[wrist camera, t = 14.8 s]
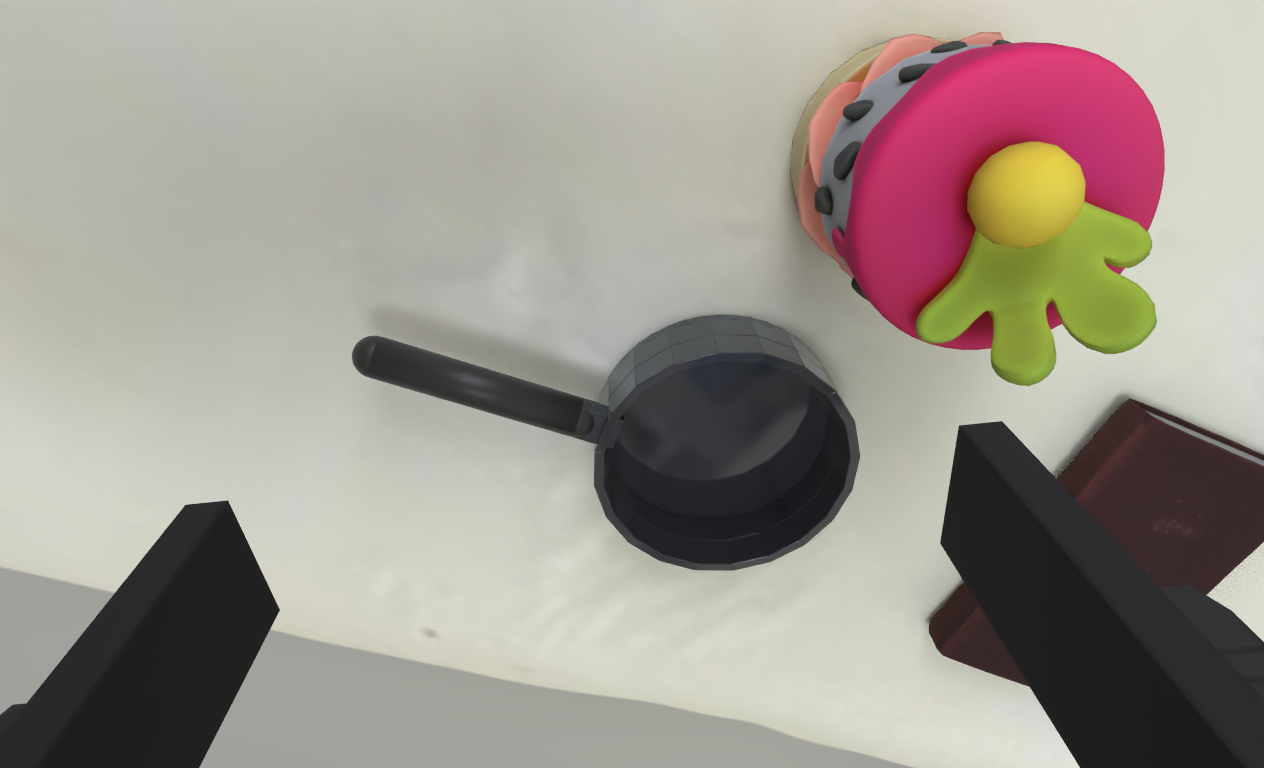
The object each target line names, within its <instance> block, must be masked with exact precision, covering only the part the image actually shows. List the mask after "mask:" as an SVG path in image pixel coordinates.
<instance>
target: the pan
mask: <svg viewBox="0 0 1264 768" xmlns="http://www.w3.org/2000/svg"><path fill="white" fill-rule="evenodd" d="M599 403H601V404H604V405H607V406H608V416H607V418H606V421H605V423H604V426H603V428H602V431H601V433H600V435H599V438H598V440H597V443H596V444H595V458H594V487H595V489H596V492H597V495H598V497H599V500H600V503H601V505H602V508H603V510H604V513H605V516H606V517H607V519H608V520H609V521H610V522H611V523H612V524H613V525H614V527H615V528H616V529H617V530H618V531H619V532H620V533H621V535H622V536H623V537H624V538H625V539H626V540H627V541H628V542H629V543H630V544H632V545H633V546H635V547H637V548H639V549H640V550H642V551H644V552H645V553H647V554H649V555H650V556H652V557H654V558H655V559H657V560H660V561H662V562H666V563H670V564H674V565H677V566H681V567H685V568H689V569H692V570H730V571H732V570H737V569H742V568H746V567H751V566H755V565H759V564H764V563H768V562H771V561H773V560H775V559H777V558H779V557H781V556H783V555H785V554H788V553H790V552H792V551H794V550H796V549H798V548H800V547H802V546H804V544H806V543H808V542H809V541H810V540H811V539H812V538H813V537H814V536H816V535H817V534H818V533H819V532H820V531H821V530H822V529H824V528H825V527H826V526H827V525H828V524H829V523H831V522H832V520H833V519H834V518H835V516H836V515H837V513H838V512H839V510H840V508H841V507H842V505H843V504H844V502H845V501H846V499H847V497H848V496H849V494H850V493H851V491H852V489H853V484H854V480H855V476H856V472H857V467H858V463H859V459H860V452H859V445H858V438H857V432H856V425H855V421H854V419H853V417H852V415H851V414H850V412H849V410H848V409H847V407H846V405H845V403H844V402H843V400H842V398H841V397H840V395H839V393H838V391H837V390H836V388H835V386H834V385H833V383H832V381H831V380H830V378H829V376H828V375H827V373H826V371H825V370H824V368H823V366H822V365H821V363H820V361H819V360H818V358H817V356H815V354H813V353H812V352H811V351H810V349H809V348H808V347H807V346H806V345H805V344H803V343H802V342H801V341H800V340H798V339H797V338H796V337H795V336H793V335H792V334H790V333H788V332H786V331H785V330H783V329H781V328H779V327H777V326H774V325H772V324H770V323H767V322H764V321H761V320H757V319H753V318H748V317H741V316H733V315H715V316H706V317H699V318H694V319H690V320H685V321H682V322H679V323H677V324H674V325H671V326H668V327H666V328H664V329H662V330H660V331H658V332H656V333H654V334H653V335H651V336H650V337H648V338H647V339H645V340H644V341H642V342H641V343H639V344H638V345H637V346H636V347H635V348H633V349H632V350H631V351H630V352H629V353H628V354H627V355H626V356H625V357H624V358H623V359H622V360H621V361H620V363H619V364H618V365H617V366H616V368H615V369H614V371H613V372H612V374H611V375H610V377H609V378H608V380H607V382H606V384H605V387H604V389H603V391H602V394H601V397H600V400H599ZM623 414H624V420H625V421H624V423H623V426H622V428H621V430H620V433H619V435H618V437H617V440H616V442H615V445H614V447H613V448H608V447H607V446H608V443H609V441H610V438H611V436H612V434H613V431H614V429H615V426H616V424H617V422H618V420H619V419H620V418H621V417H622V416H623Z"/></svg>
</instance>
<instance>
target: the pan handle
mask: <svg viewBox="0 0 1264 768" xmlns="http://www.w3.org/2000/svg"><path fill="white" fill-rule="evenodd" d="M352 360H353V364H354V366H355V368H356V369H357V370H358V371H359V372H360V373H361V374H362V375H364V376H366V377H369V378H373V379H376V380H379V381H383V382H386V383H390V384H393V385H396V386H400V387H403V388H407V389H410V390H414V391H417V392H420V393H424V394H427V395H431V396H434V397H437V398H441V399H444V400H448V401H451V402H455V403H458V404H461V405H465V406H468V407H472V408H475V409H478V410H482V411H485V412H489V413H492V414H495V415H499V416H502V417H506V418H509V419H513V420H516V421H519V422H523V423H526V424H530V425H533V426H536V427H540V428H543V429H547V430H550V431H554V432H557V433H560V434H564V435H567V436H571V437H574V438H577V439H581V440H584V441H588V442H591V443H594V444H596V443H597V440H598V438H599V435H600V433H601V431H602V428H603V426H604V423H605V421H606V418H607V416H608V406H607V405H604V404H601V403H597V402H594V401H591V400H588V399H584V398H581V397H578V396H574V395H571V394H568V393H564V392H561V391H558V390H555V389H551V388H548V387H545V386H541V385H538V384H535V383H532V382H528V381H525V380H522V379H519V378H515V377H512V376H509V375H505V374H502V373H499V372H496V371H492V370H489V369H486V368H482V367H479V366H476V365H473V364H469V363H466V362H463V361H459V360H456V359H453V358H450V357H446V356H443V355H440V354H436V353H433V352H430V351H427V350H423V349H420V348H417V347H413V346H410V345H407V344H404V343H400V342H397V341H394V340H390V339H387V338H384V337H380V336H368V337H366V338H363V339H362V340H360V341H359V342H358V343H357V344H356V346H355V347H354V349H353V352H352ZM624 421H625V420H624V414H623V416H622V417H621V418H620V419H619V420H618V422H617V424H616V426H615V429H614V431H613V434H612V436H611V438H610V441H609V443H608V446H607V447H608V448H613V447H614V445H615V442H616V440H617V437H618V435H619V433H620V430H621V428H622V426H623V423H624Z"/></svg>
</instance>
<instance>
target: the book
mask: <svg viewBox="0 0 1264 768" xmlns="http://www.w3.org/2000/svg"><path fill="white" fill-rule="evenodd" d="M1057 480H1058V481H1059V482H1060V483H1061V484H1062V485H1063V487H1064V488H1065V489H1066V490H1067V491H1068V492H1069V493H1070V494H1071V495H1072V496H1073V497H1074V498H1075V499H1076V500H1077V501H1078V502H1079V503H1080V505H1081V506H1082V507H1083V508H1084V509H1085V510H1086V511H1087V512H1088V513H1089V514H1090V515H1091V516H1092V517H1093V518H1094V519H1095V520H1096V522H1097V523H1098V524H1099V525H1100V526H1101V527H1102V528H1103V529H1104V530H1105V531H1106V532H1107V533H1108V534H1109V535H1110V536H1111V537H1112V538H1113V540H1114V541H1115V542H1116V543H1117V544H1118V545H1119V546H1120V547H1121V548H1122V549H1123V550H1124V551H1125V552H1126V553H1127V554H1128V555H1129V556H1130V558H1131V559H1132V560H1133V561H1134V562H1135V563H1136V564H1137V565H1138V566H1139V567H1140V568H1141V569H1142V570H1143V571H1144V572H1145V573H1146V574H1147V576H1148V577H1149V578H1150V579H1151V580H1152V581H1153V582H1154V583H1155V584H1156V585H1157V586H1158V587H1169V586H1179V585H1190V586H1192V587H1193V588H1195V589H1197V590H1198V591H1200V592H1202V593H1203V594H1205V595H1207V594H1208V593H1209V592H1210V591H1211V590H1212V589H1213V588H1214V587H1215V586H1216V585H1217V584H1219V583H1220V582H1221V581H1222V580H1223V579H1224V578H1225V577H1226V576H1227V575H1228V574H1229V573H1230V572H1231V571H1232V570H1233V569H1234V568H1235V567H1237V566H1238V565H1239V564H1240V563H1241V562H1242V561H1243V560H1244V559H1245V558H1247V557H1248V556H1249V555H1250V554H1251V553H1252V552H1253V551H1254V550H1255V549H1257V548H1258V547H1259V546H1260V545H1261V544H1262V543H1263V542H1264V455H1262V454H1260V453H1257V452H1255V451H1252V450H1250V449H1248V448H1246V447H1244V446H1242V445H1240V444H1237V443H1235V442H1233V441H1230V440H1228V439H1226V438H1223V437H1221V436H1219V435H1216V434H1214V433H1211V432H1209V431H1207V430H1205V429H1202V428H1200V427H1197V426H1195V425H1193V424H1191V423H1188V422H1186V421H1184V420H1182V419H1179V418H1177V417H1175V416H1172V415H1169V414H1167V413H1164V412H1162V411H1160V410H1157V409H1155V408H1153V407H1150V406H1148V405H1145V404H1143V403H1140V402H1137V401H1135V400H1132V399H1129V400H1127V401H1126V402H1125V403H1123V404H1122V405H1121V407H1120V408H1119V409H1118V410H1117V411H1116V412H1115V413H1114V414H1113V415H1112V417H1111V418H1110V419H1109V420H1108V421H1107V422H1106V423H1105V425H1104V426H1103V427H1102V428H1101V429H1100V430H1099V431H1098V433H1097V434H1096V435H1095V436H1094V437H1093V438H1092V439H1091V440H1090V442H1089V443H1088V444H1087V445H1086V446H1085V447H1084V449H1083V450H1082V451H1081V452H1080V453H1079V454H1078V456H1077V457H1076V458H1075V459H1074V460H1073V462H1072V463H1071V464H1070V465H1069V466H1068V468H1067V469H1066V470H1065V471H1064V472H1063V473H1062V474H1061V476H1060V477H1059V478H1058V479H1057ZM929 633H930V635H931V637H932V639H933V641H934V643H935V645H936V648H937V650H938V651H939V652H940V653H941V654H942V655H943V656H946V657H948V658H950V659H953V660H956V661H958V662H961V663H964V664H966V665H969V666H972V667H974V668H977V669H980V670H983V671H985V672H988V673H991V674H994V675H997V676H1000V677H1003V678H1005V679H1008V680H1011V681H1014V682H1017V683H1020V684H1023V685H1026V686H1029V685H1028V683H1027V681H1026V680H1025V678H1024V677H1023V675H1022V673H1021V672H1020V670H1019V669H1018V667H1017V665H1016V664H1015V662H1014V661H1013V659H1012V657H1011V656H1010V654H1009V653H1008V651H1007V649H1006V648H1005V646H1004V645H1003V643H1002V641H1001V640H1000V638H999V637H998V635H997V633H996V632H995V630H994V629H993V627H992V625H991V624H990V622H989V621H988V619H987V617H986V616H985V614H984V612H983V611H982V609H981V608H980V606H979V604H978V603H977V601H976V600H975V598H974V596H973V595H972V593H971V592H970V590H969V588H968V587H967V585H966V584H965V583H964V584H963V585H962V586H961V587H960V588H959V589H958V590H957V591H956V592H955V593H954V594H953V596H952V597H951V598H950V599H949V600H948V602H947V603H946V604H945V605H944V606H943V608H942V609H941V610H940V611H939V612H938V613H937V614H936V615H935V616H934V617H933V618H932V620H931V621H930V624H929ZM1029 687H1030V686H1029Z"/></svg>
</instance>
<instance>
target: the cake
mask: <svg viewBox="0 0 1264 768" xmlns="http://www.w3.org/2000/svg"><path fill="white" fill-rule="evenodd" d="M790 174H791V179H792V183H793V188H794V193H795V197H796V202H797V204H798V206H799V211H800V218H801V225H802V228H803V229H804V230H805V231H806V233H807V234H808V235H809V236H810V237H811V238H812V240H813V241H814V242H815V243H816V244H817V246H818V247H819V248H820V249H821V250H822V251H823V252H825V253H826V254H828V255H829V256H830V257H832V258H833V259H834V260H836V261H837V263H838V264H839V266H840V267H841V268H842V269H843V270H844V271H845V272H846V273H847V274H848V275H849V276H851V277H852V278H853V279H852V288H853V289H854V290H855V291H856V292H857V293H858V294H859V295H861V296H862V297H863V298H865V299H866V300H868V301H869V302H870V303H871V304H872V305H873V306H874V307H875V308H876V309H877V310H878V311H879V313H880V314H881V315H882V316H883V317H884V318H886V319H887V320H888V321H889V322H891V323H892V324H893V325H894V326H896V327H897V328H898V329H900V330H901V331H903V332H905V333H906V334H908V335H910V336H912V337H914V338H916V339H919V340H921V341H924V342H926V343H929V344H932V345H936V346H941V347H945V348H952V349H960V350H979V349H990V348H991V364H992V367H993V369H994V371H995V372H996V374H997V375H998V376H1000V377H1001V378H1002V379H1004V380H1006V381H1008V382H1010V383H1013V384H1016V385H1025V386H1030V385H1033V384H1036V383H1038V382H1040V381H1042V380H1043V379H1044V378H1046V377H1047V376H1048V375H1049V374H1050V373H1051V371H1052V370H1053V369H1054V366H1055V363H1056V350H1055V344H1054V338H1053V335H1052V332H1051V329H1053V328H1055V327H1057V326H1059V325H1060V324H1062V323H1063V325H1064V327H1065V328H1066V329H1067V331H1068V332H1069V333H1070V335H1071V336H1072V337H1073V338H1075V339H1076V340H1077V341H1078V342H1080V343H1081V344H1083V345H1084V346H1086V347H1087V348H1089V349H1092V350H1095V351H1098V352H1101V353H1104V354H1116V353H1122V352H1125V351H1128V350H1130V349H1133V348H1134V347H1136V346H1138V345H1140V344H1141V343H1142V342H1143V341H1144V340H1145V339H1146V338H1147V337H1148V336H1149V335H1150V334H1151V332H1152V331H1153V329H1154V328H1155V325H1156V322H1157V319H1156V312H1155V306H1154V303H1153V302H1152V300H1151V299H1150V297H1149V295H1148V294H1147V293H1146V292H1145V291H1144V290H1143V289H1142V288H1141V287H1140V286H1139V285H1138V284H1136V283H1134V282H1133V281H1131V280H1129V279H1127V278H1126V277H1124V276H1122V275H1120V274H1121V272H1122V271H1123V270H1124V269H1125V268H1130V267H1133V266H1136V265H1137V264H1139V263H1140V262H1142V261H1143V260H1144V259H1145V258H1146V257H1147V256H1148V255H1149V253H1150V251H1151V248H1152V240H1151V237H1150V235H1149V233H1148V232H1147V231H1148V229H1149V227H1150V225H1151V223H1152V220H1153V218H1154V215H1155V212H1156V209H1157V206H1158V203H1159V199H1160V195H1161V190H1162V186H1163V178H1164V144H1163V138H1162V133H1161V128H1160V124H1159V121H1158V119H1157V116H1156V113H1155V111H1154V108H1153V106H1152V104H1151V103H1150V101H1149V99H1148V98H1147V96H1146V94H1145V93H1144V91H1143V90H1142V89H1141V87H1140V86H1139V85H1138V84H1137V83H1136V82H1135V81H1134V80H1133V79H1132V77H1131V76H1130V75H1128V74H1127V73H1126V72H1125V71H1123V70H1122V69H1121V68H1119V67H1118V66H1117V65H1116V64H1114V63H1112V62H1111V61H1109V60H1107V59H1105V58H1103V57H1101V56H1099V55H1097V54H1094V53H1091V52H1088V51H1085V50H1082V49H1079V48H1074V47H1068V46H1063V45H1058V44H1052V43H1029V42H1023V43H1010V42H1008V41H1005V40H1004V39H1003V37H1002V35H1001V33H1000V32H980V33H977V34H975V35H972V36H969V37H967V38H964V39H962V40H960V41H952V40H943V39H934V38H931V37H929V36H923V35H917V34H910V35H906V36H901V37H897V38H892V39H890V41H888V42H885V43H882V44H880V45H877V46H874V47H871V48H868V49H865V50H862V51H861V52H859V53H858V54H857V55H855V56H854V57H853V58H851V59H850V60H848V61H847V62H846V63H844V64H843V65H842V66H840V67H839V68H837V69H836V70H835V71H833V72H832V73H831V74H830V75H829V76H828V78H827V79H826V80H825V82H824V83H823V84H822V85H821V87H820V88H819V89H818V91H817V92H816V93H815V94H814V96H813V97H812V98H811V99H810V101H809V102H808V103H807V106H806V108H805V111H804V113H803V115H802V118H801V120H800V123H799V125H798V128H797V130H796V132H795V135H794V137H793V147H792V156H791V166H790Z"/></svg>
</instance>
